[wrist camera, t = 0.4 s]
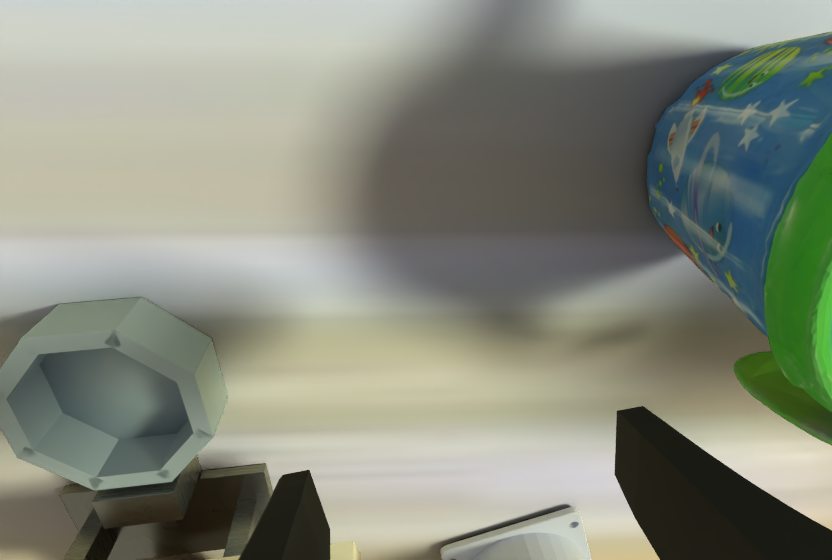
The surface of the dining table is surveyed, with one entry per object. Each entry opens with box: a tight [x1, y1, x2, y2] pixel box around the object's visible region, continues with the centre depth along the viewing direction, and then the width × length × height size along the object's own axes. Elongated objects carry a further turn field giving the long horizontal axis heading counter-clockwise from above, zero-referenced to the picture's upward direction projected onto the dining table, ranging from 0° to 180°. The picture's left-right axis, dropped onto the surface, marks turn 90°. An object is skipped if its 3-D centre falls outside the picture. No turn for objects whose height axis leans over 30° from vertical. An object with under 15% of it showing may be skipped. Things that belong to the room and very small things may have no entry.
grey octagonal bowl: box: [0, 297, 228, 491], centre depth 20 cm, size 7×7×2 cm
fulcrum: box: [60, 455, 273, 560], centre depth 22 cm, size 7×9×5 cm
